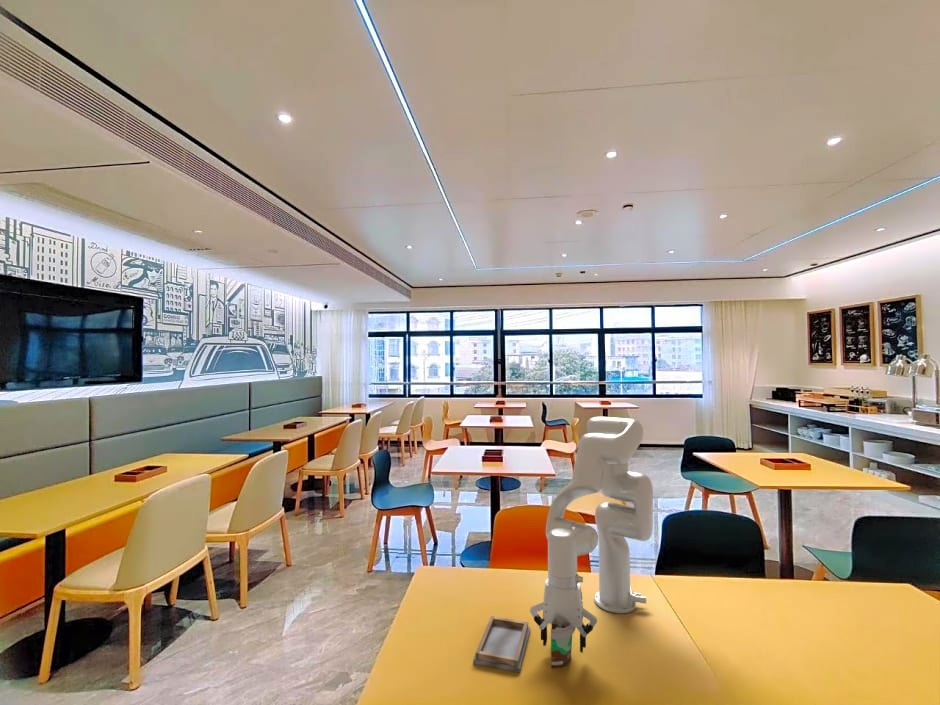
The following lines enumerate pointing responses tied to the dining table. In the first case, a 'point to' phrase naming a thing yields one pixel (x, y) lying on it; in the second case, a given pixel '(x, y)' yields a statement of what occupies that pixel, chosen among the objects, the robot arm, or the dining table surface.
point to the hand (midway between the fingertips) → (563, 645)
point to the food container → (561, 645)
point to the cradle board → (503, 644)
